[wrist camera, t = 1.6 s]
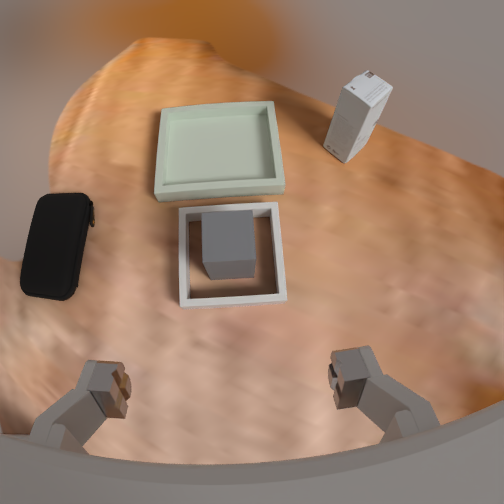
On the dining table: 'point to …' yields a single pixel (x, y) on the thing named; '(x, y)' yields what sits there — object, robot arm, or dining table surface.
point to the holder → (280, 298)
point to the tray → (218, 152)
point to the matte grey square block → (228, 244)
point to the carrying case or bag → (56, 245)
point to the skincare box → (356, 115)
